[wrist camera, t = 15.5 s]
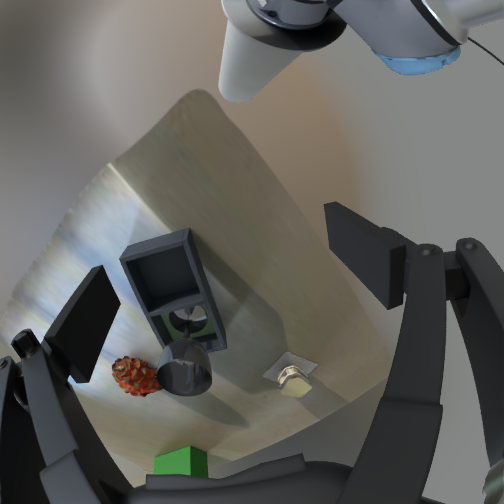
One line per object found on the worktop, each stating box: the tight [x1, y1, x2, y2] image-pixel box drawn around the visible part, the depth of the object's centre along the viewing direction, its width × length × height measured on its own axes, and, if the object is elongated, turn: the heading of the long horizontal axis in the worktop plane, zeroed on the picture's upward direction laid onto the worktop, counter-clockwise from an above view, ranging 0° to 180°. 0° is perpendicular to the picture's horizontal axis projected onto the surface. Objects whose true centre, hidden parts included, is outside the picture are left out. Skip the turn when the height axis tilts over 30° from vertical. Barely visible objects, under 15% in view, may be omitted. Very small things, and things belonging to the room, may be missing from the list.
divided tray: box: [119, 228, 227, 353], centre depth 46 cm, size 11×21×5 cm, turn 13°
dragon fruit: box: [112, 356, 163, 397], centre depth 50 cm, size 8×8×12 cm
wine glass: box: [156, 305, 212, 396], centre depth 43 cm, size 8×8×15 cm
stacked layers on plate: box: [261, 351, 318, 398], centre depth 57 cm, size 10×9×6 cm
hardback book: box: [154, 446, 208, 478], centre depth 61 cm, size 18×7×24 cm, turn 127°
